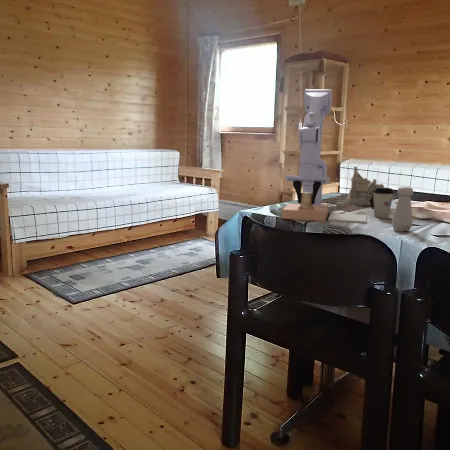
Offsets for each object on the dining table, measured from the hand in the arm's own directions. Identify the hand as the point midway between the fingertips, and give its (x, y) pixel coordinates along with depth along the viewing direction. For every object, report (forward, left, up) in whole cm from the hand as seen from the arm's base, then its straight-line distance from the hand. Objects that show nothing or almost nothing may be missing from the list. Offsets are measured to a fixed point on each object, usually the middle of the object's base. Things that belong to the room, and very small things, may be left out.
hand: (306, 203), depth 158 cm
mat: (0, +14, -4) cm, 15 cm away
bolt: (-24, +25, -5) cm, 35 cm away
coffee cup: (-8, +25, -5) cm, 27 cm away
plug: (0, 0, -4) cm, 4 cm away
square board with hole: (0, 0, -4) cm, 4 cm away
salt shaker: (+14, +30, -5) cm, 33 cm away
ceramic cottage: (-42, +19, -5) cm, 46 cm away
